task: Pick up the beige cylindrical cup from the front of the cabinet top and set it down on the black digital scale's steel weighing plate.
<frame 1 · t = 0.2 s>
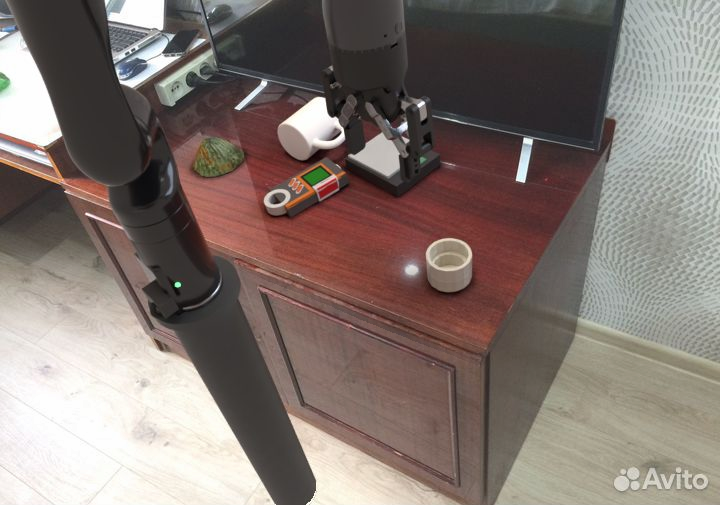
hand: (383, 164, 68), 24 cm above the cabinet top, tool pointing down, fingers open, 8 cm apart
electronic device: (305, 195, 105), on the cabinet top
seashell: (218, 161, 116), on the cabinet top
mug: (322, 149, 114), on the cabinet top
scale: (392, 167, 107), on the cabinet top
beige cylindrical cup: (449, 277, 87), on the cabinet top
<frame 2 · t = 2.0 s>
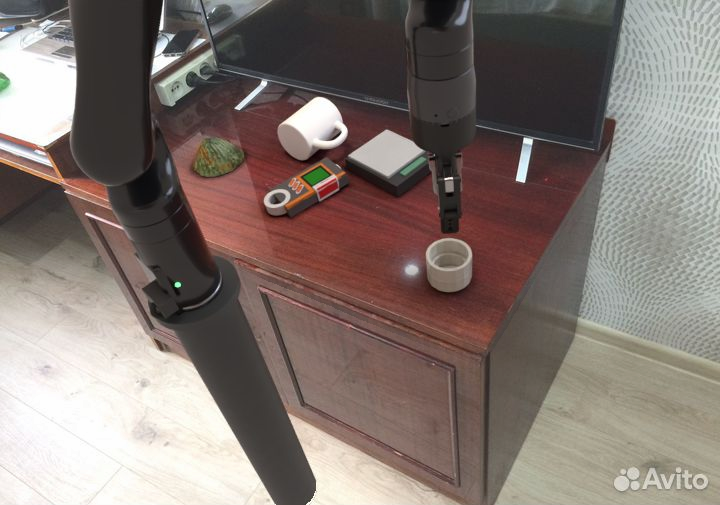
hand: (447, 209, 78), 13 cm above the cabinet top, tool pointing down, fingers open, 8 cm apart
nothing on the cabinet top moved.
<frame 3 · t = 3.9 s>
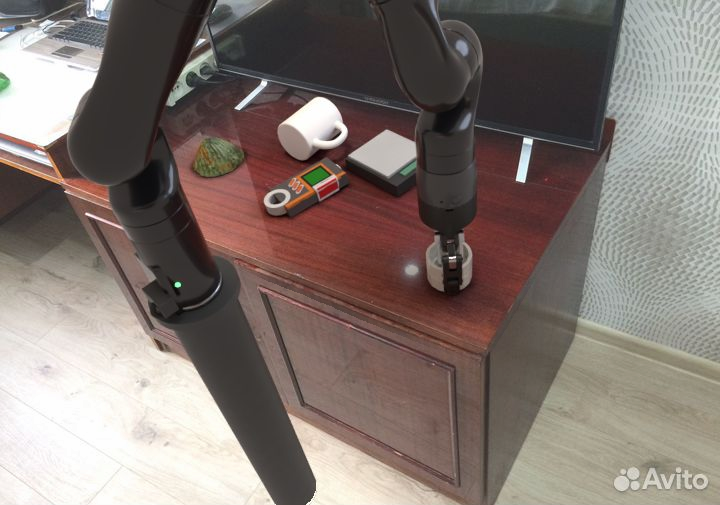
hand: (449, 274, 86), 1 cm above the cabinet top, tool pointing down, fingers closed on beige cylindrical cup, 6 cm apart
beige cylindrical cup: (449, 277, 87), on the cabinet top, touching gripper
everything else where it was.
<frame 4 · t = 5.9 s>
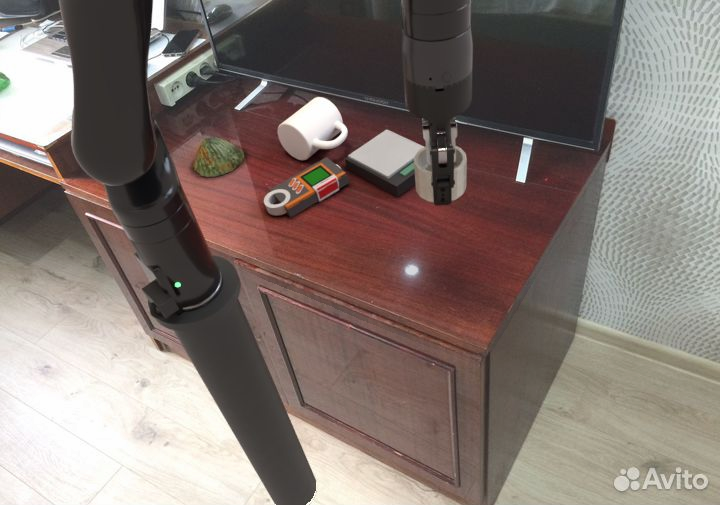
hand: (440, 185, 76), 17 cm above the cabinet top, tool pointing down, fingers closed on beige cylindrical cup, 6 cm apart
beige cylindrical cup: (440, 189, 77), point 16 cm above the cabinet top, touching gripper
everything else where it was.
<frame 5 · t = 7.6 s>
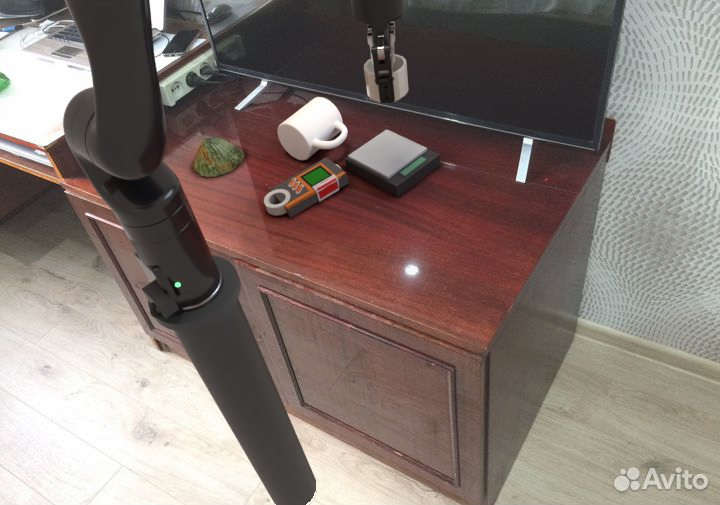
hand: (387, 89, 92), 18 cm above the cabinet top, tool pointing down, fingers closed on beige cylindrical cup, 6 cm apart
beige cylindrical cup: (388, 93, 93), point 17 cm above the cabinet top, touching gripper
everything else where it was.
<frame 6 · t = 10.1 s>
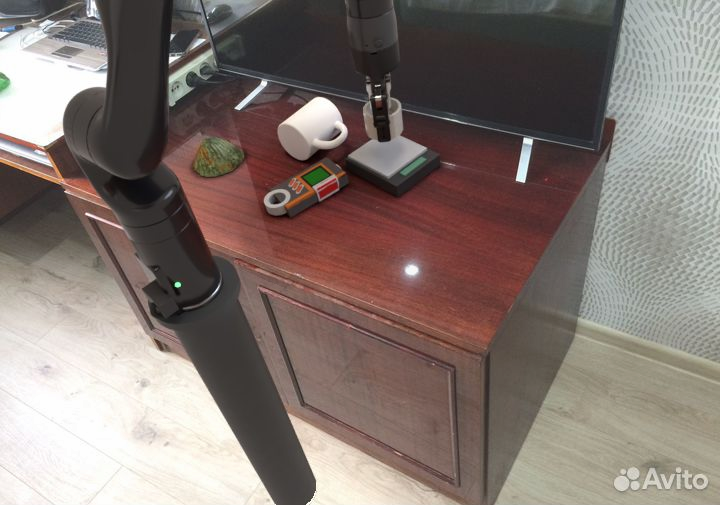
hand: (384, 128, 102), 8 cm above the cabinet top, tool pointing down, fingers closed on beige cylindrical cup, 6 cm apart
beige cylindrical cup: (384, 132, 103), point 7 cm above the cabinet top, touching gripper
everything else where it was.
when the fingers open (4 cm above the cabinet top, at t = 11.7 s): beige cylindrical cup stays where it is, resting on scale.
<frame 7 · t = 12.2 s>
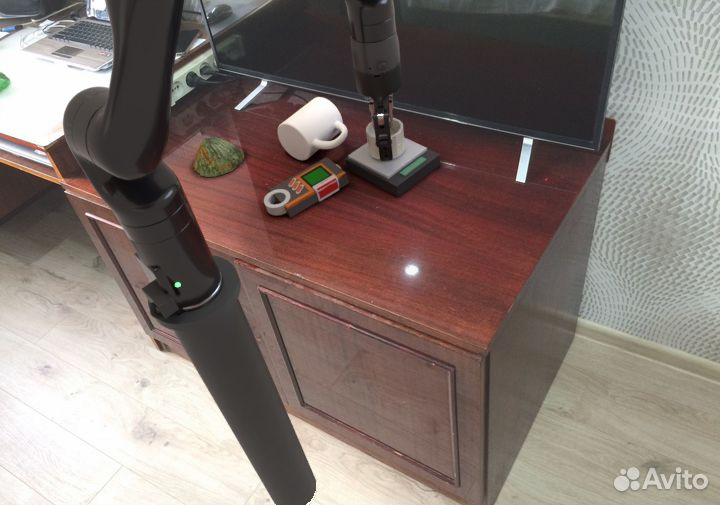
hand: (386, 144, 104), 4 cm above the cabinet top, tool pointing down, fingers open, 8 cm apart
beige cylindrical cup: (387, 151, 106), point 3 cm above the cabinet top, touching scale
everything else where it was.
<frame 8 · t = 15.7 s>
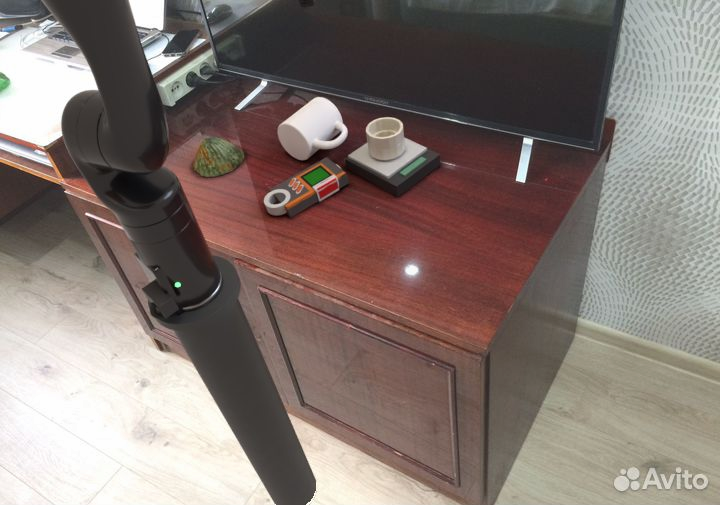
nothing on the cabinet top moved.
at the end: beige cylindrical cup inside the target area on the scale (0.1 cm from its centre), point 3.0 cm above the scale's base; beige cylindrical cup tilted 0°; the gripper is holding nothing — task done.
